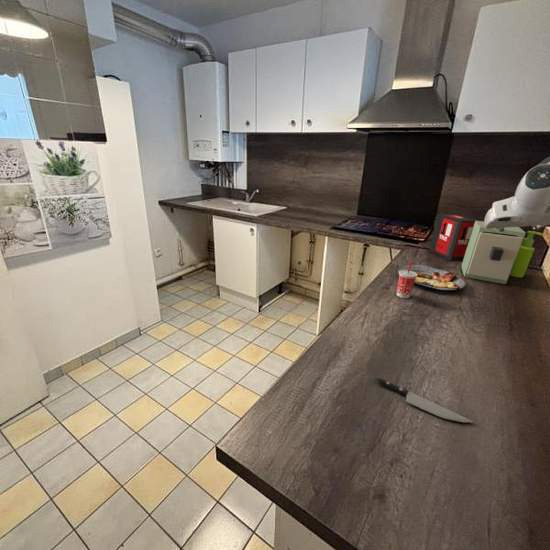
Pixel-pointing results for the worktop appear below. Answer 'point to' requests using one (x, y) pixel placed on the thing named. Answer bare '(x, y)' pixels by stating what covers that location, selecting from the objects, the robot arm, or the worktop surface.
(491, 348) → the worktop surface
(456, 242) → the cleaning product box
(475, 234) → the box
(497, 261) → the basket
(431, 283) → the food plate
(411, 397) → the chef's knife
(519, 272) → the soap dispenser
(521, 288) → the worktop surface
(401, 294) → the beverage cup
